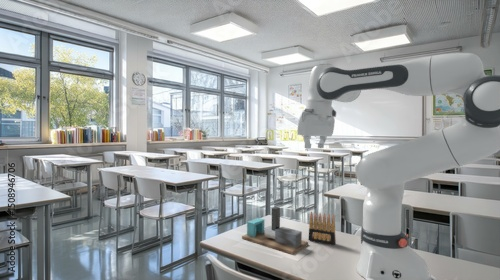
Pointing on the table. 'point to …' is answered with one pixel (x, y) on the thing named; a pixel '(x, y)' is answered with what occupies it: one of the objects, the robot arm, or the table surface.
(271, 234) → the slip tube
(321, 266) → the table surface
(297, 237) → the board
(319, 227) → the ammunition clip
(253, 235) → the socket block
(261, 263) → the table surface
